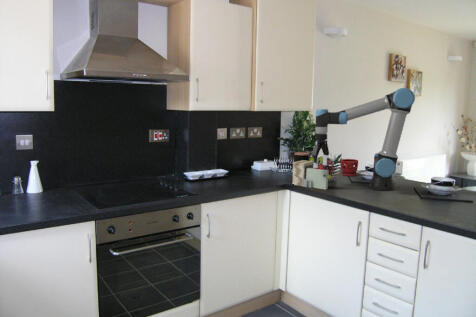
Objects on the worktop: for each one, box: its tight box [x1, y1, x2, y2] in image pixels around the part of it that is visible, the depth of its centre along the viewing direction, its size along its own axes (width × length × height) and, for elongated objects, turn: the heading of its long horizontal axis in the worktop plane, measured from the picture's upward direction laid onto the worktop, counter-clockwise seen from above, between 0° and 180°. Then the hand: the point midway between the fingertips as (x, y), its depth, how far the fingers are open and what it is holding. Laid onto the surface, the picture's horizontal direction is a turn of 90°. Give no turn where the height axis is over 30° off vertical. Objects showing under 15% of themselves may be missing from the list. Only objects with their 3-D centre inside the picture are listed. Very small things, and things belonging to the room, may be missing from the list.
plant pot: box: [340, 158, 359, 177], centre depth 302 cm, size 13×13×12 cm
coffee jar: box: [293, 151, 310, 162], centre depth 288 cm, size 11×11×18 cm
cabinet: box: [291, 160, 314, 187], centre depth 266 cm, size 9×14×15 cm, turn 143°
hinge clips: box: [301, 177, 313, 188], centre depth 259 cm, size 6×6×6 cm
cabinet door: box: [306, 168, 329, 190], centre depth 254 cm, size 14×4×12 cm, turn 53°
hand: (320, 166), depth 253 cm, fingers open, 13 cm apart
